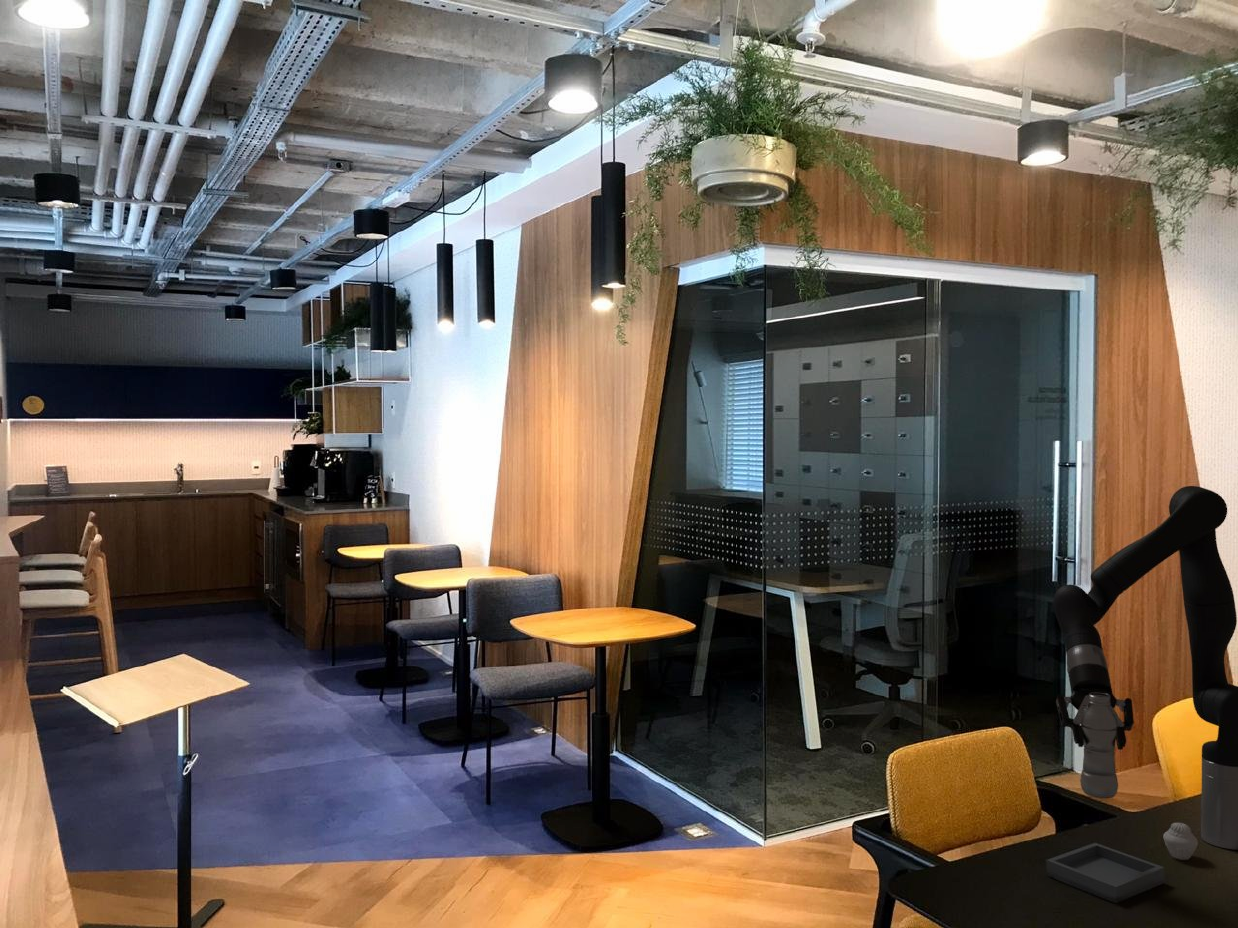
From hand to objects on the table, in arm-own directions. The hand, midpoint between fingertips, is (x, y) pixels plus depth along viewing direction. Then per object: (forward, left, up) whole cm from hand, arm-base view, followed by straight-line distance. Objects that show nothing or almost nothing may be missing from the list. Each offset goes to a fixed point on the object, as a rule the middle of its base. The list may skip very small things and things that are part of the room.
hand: (1101, 746), depth 191 cm
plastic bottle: (-1, -1, -11) cm, 11 cm away
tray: (+1, +1, -25) cm, 25 cm away
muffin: (-22, +3, -25) cm, 34 cm away
